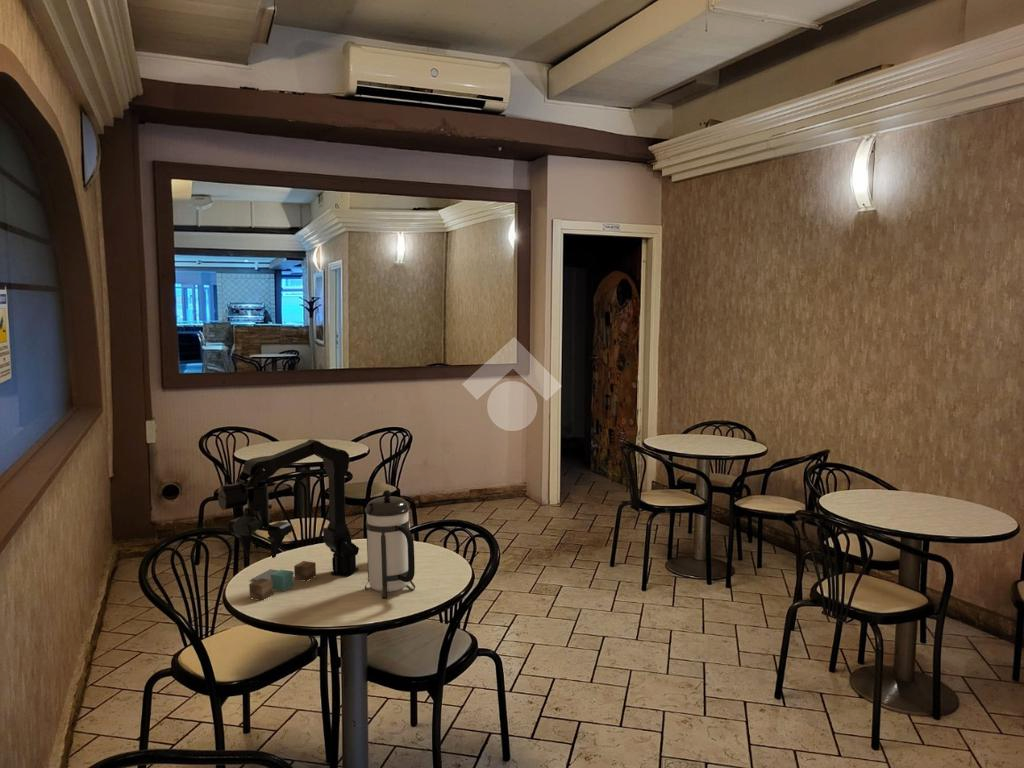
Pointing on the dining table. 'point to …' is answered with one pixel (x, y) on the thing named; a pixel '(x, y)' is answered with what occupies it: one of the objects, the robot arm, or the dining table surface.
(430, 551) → the dining table surface
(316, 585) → the dining table surface
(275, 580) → the teal cube
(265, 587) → the walnut cube left
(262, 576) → the slate tile
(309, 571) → the walnut cube right
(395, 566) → the coffee press
